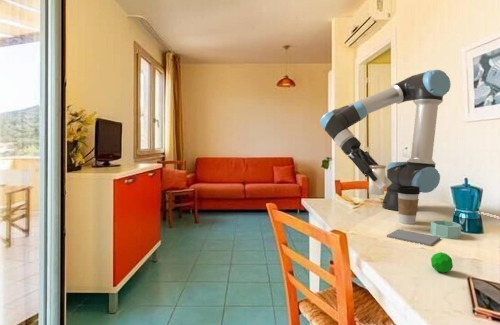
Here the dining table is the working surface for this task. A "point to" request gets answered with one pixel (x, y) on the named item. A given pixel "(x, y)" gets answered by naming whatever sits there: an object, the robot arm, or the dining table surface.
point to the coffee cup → (408, 203)
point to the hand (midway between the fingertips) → (386, 186)
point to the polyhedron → (441, 262)
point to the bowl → (445, 229)
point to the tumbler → (381, 173)
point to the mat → (414, 237)
